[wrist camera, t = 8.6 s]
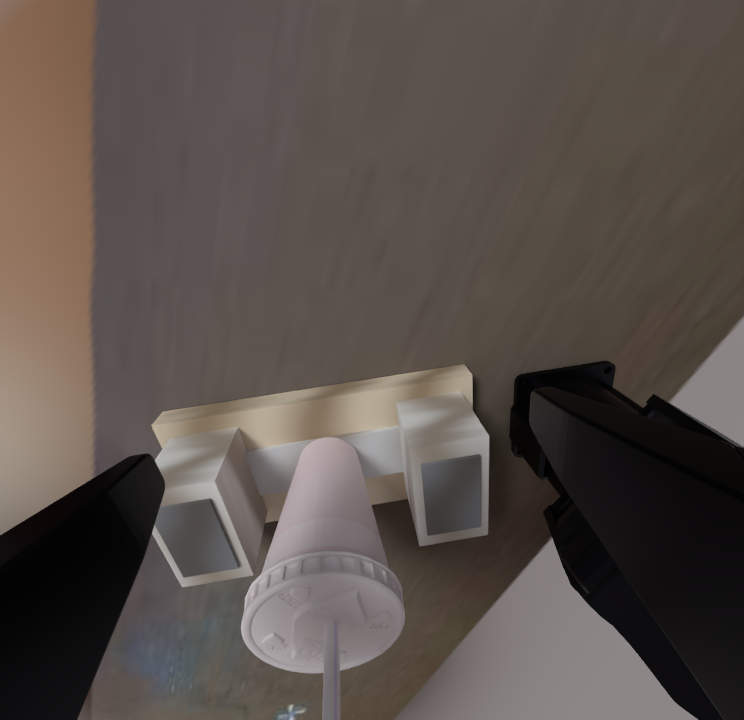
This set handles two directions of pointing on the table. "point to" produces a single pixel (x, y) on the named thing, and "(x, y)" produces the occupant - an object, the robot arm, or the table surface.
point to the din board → (282, 452)
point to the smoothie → (324, 576)
